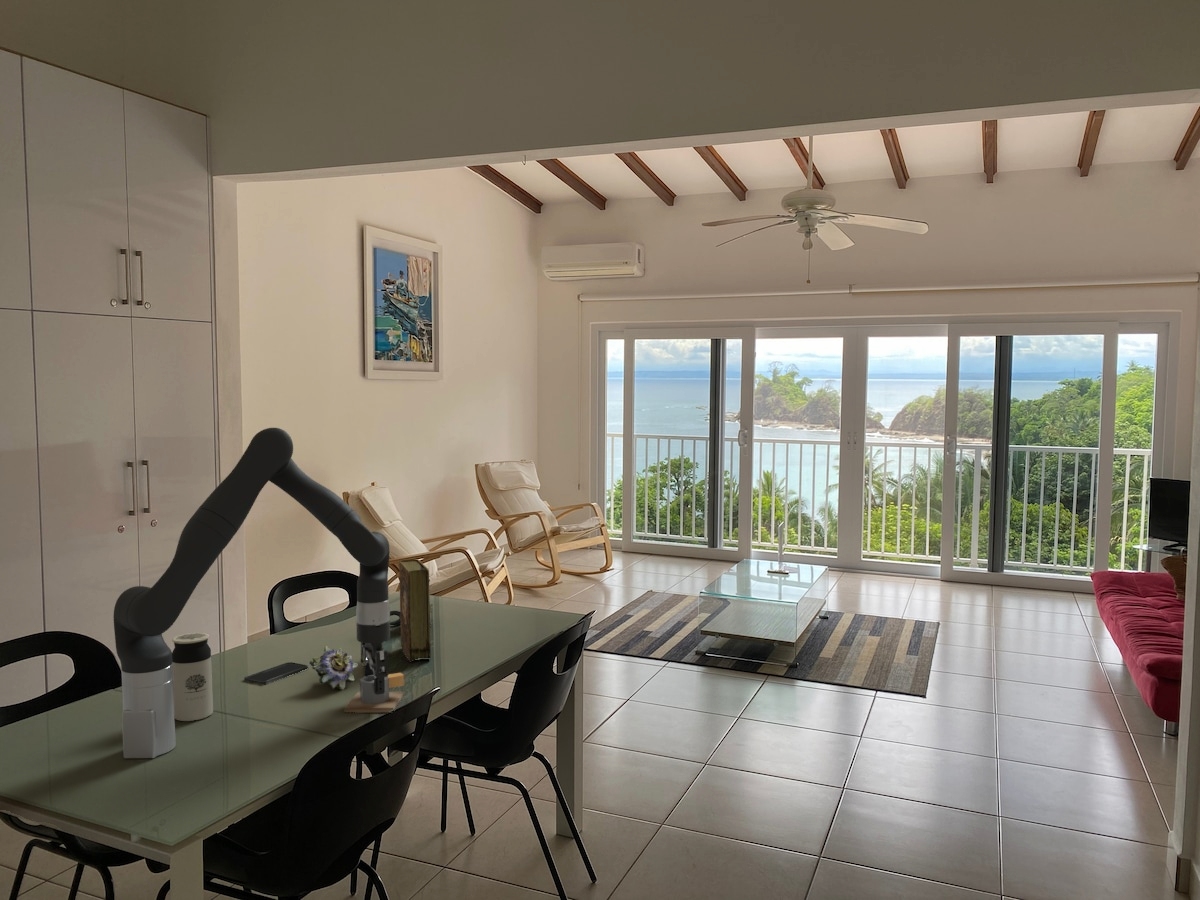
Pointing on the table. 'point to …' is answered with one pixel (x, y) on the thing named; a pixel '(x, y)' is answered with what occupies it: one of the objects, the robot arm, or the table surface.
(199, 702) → the travel mug
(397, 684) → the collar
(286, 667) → the phone
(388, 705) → the base
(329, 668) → the passion flower
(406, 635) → the book
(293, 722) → the table surface
